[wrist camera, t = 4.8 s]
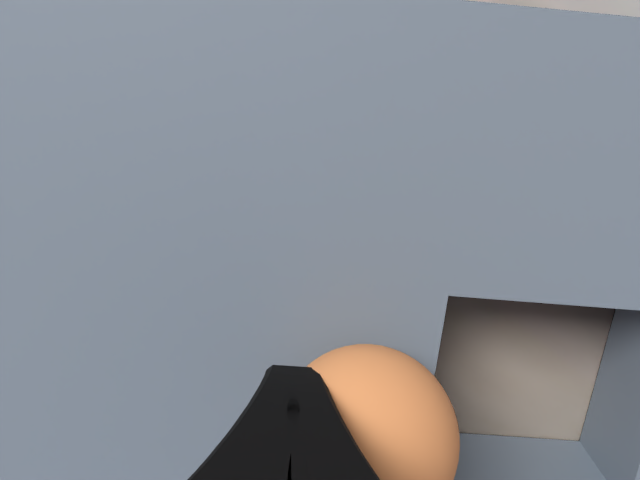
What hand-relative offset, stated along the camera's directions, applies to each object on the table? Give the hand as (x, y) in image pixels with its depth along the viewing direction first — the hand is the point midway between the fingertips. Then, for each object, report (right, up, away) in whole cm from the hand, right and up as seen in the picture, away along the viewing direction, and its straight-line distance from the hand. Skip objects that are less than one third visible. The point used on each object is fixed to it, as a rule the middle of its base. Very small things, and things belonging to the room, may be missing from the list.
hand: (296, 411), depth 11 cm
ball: (+3, -1, -1) cm, 3 cm away
